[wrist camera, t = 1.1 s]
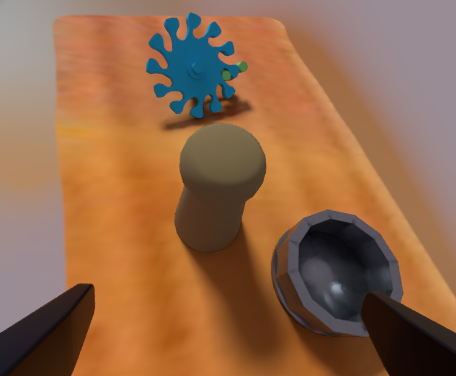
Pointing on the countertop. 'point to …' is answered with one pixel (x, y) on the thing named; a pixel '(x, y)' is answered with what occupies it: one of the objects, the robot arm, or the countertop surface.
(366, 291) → the fitting collar
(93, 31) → the countertop surface
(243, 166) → the cork
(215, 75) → the gear
